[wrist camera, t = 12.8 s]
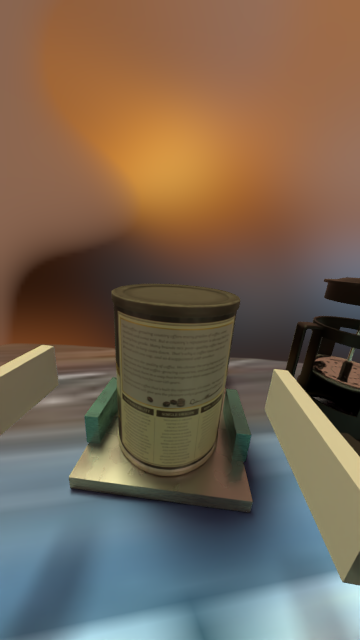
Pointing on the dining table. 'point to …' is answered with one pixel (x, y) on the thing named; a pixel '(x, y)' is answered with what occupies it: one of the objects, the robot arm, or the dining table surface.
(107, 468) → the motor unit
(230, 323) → the coffee can
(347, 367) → the french press
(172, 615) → the dining table surface
